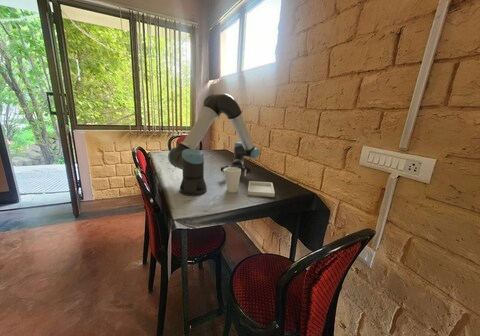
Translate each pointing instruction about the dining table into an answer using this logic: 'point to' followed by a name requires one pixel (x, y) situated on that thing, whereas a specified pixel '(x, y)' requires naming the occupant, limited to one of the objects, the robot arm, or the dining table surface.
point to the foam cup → (232, 178)
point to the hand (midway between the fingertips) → (234, 173)
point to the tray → (261, 189)
